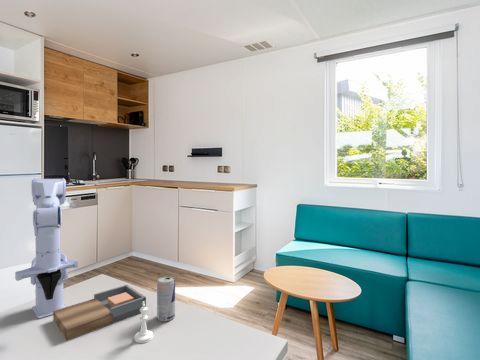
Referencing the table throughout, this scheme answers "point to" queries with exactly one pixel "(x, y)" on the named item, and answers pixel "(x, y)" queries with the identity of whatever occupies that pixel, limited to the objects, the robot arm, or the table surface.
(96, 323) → the walnut plate
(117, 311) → the tray
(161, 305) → the energy drink
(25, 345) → the table surface
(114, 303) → the terracotta tile
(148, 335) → the chess piece
